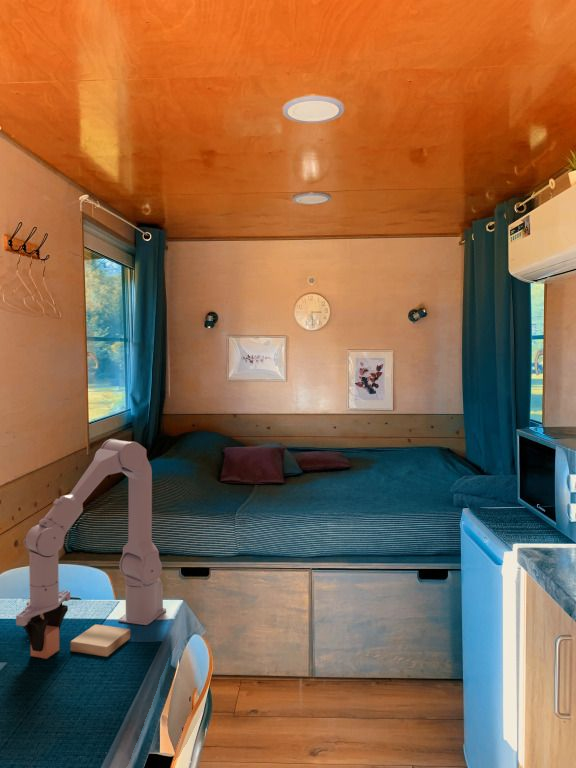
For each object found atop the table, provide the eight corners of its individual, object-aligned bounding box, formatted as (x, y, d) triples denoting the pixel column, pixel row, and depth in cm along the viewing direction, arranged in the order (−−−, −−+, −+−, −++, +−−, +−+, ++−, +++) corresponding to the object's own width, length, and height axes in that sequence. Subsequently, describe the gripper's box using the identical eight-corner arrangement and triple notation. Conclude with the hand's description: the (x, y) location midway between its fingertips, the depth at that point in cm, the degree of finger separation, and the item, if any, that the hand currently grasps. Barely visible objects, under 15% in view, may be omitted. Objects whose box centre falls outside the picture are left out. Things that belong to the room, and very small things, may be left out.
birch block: (95, 634, 138) (95, 624, 138) (130, 640, 135) (130, 629, 135) (70, 652, 129) (70, 641, 129) (106, 658, 127) (106, 647, 127)
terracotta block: (43, 647, 131) (43, 624, 131) (59, 650, 130) (58, 627, 130) (30, 655, 127) (30, 632, 127) (46, 658, 126) (46, 635, 126)
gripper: (51, 569, 136) (52, 628, 136) (3, 592, 122) (4, 658, 123) (77, 572, 134) (78, 632, 134) (32, 596, 120) (33, 663, 120)
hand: (45, 645), depth 128 cm, fingers closed on terracotta block, 4 cm apart
